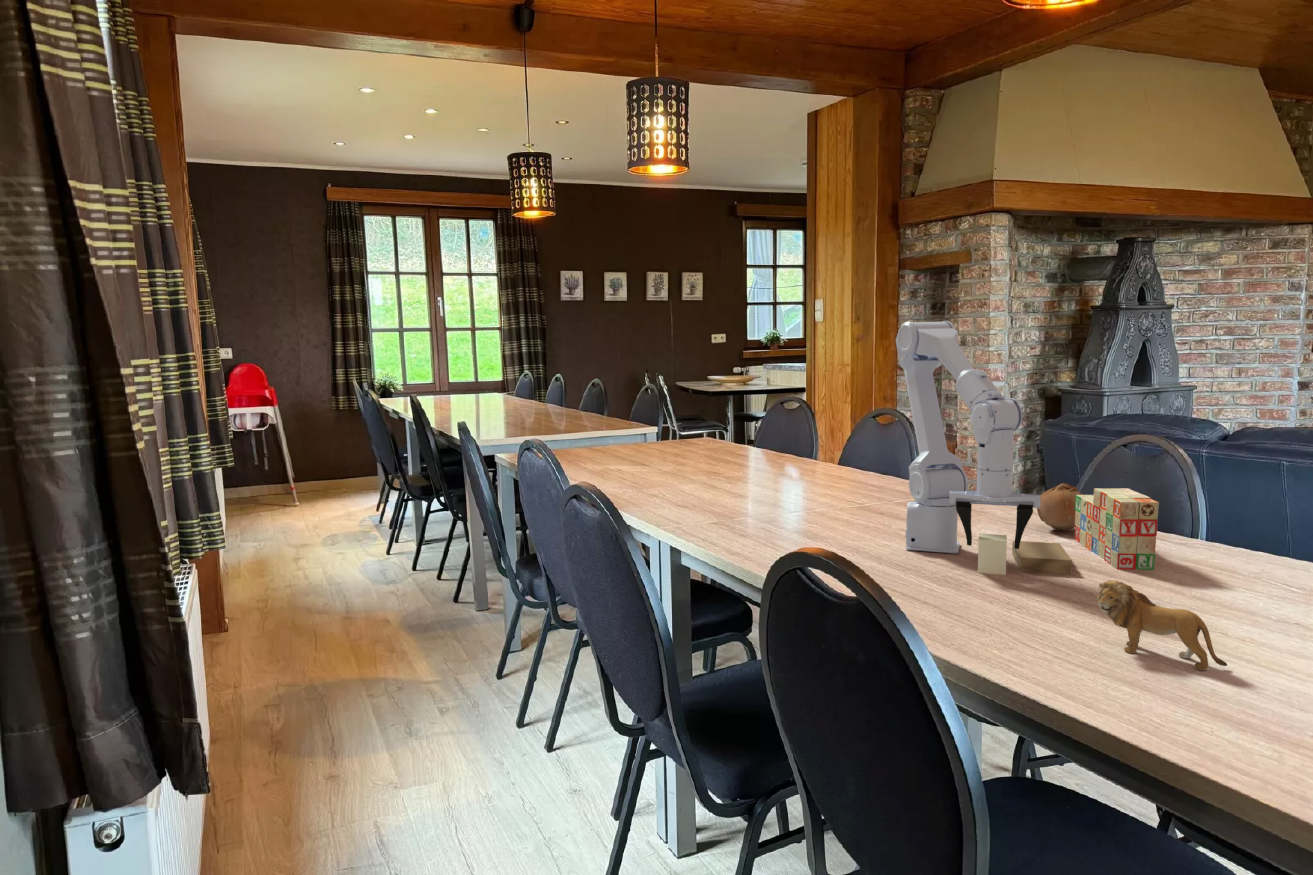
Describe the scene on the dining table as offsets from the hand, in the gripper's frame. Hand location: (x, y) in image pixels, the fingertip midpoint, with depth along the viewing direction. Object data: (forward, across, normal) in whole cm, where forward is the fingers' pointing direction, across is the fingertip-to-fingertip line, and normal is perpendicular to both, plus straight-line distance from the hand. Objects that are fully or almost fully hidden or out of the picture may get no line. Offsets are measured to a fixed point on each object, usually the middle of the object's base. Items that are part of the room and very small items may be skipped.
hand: (992, 545), depth 145 cm
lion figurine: (+5, +20, -34) cm, 40 cm away
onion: (+4, +13, +35) cm, 38 cm away
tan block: (+5, +8, +7) cm, 12 cm away
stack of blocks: (+5, +20, +18) cm, 28 cm away
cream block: (+4, 0, 0) cm, 5 cm away
